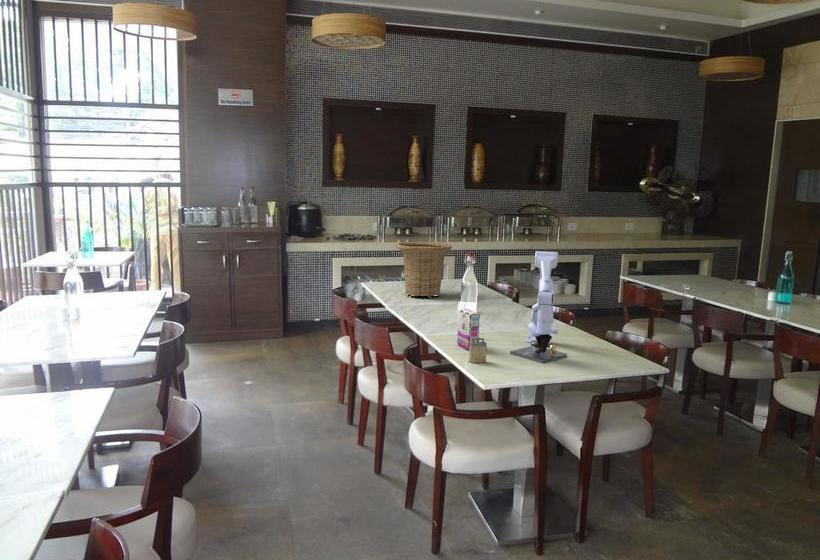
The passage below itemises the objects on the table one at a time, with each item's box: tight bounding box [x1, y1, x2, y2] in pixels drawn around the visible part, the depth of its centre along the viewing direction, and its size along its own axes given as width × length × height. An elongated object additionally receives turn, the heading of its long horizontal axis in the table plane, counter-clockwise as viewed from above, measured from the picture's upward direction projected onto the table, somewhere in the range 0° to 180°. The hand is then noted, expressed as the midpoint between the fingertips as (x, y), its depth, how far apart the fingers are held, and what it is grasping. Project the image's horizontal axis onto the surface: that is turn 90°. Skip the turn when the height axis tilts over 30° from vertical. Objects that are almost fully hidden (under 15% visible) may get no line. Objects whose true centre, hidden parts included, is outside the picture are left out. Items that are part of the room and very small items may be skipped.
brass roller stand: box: [530, 340, 557, 354], centre depth 264 cm, size 12×6×4 cm, turn 47°
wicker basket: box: [396, 241, 453, 297], centre depth 394 cm, size 35×35×33 cm
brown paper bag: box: [468, 337, 488, 364], centre depth 251 cm, size 7×4×10 cm, turn 98°
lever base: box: [509, 345, 568, 364], centre depth 264 cm, size 17×17×4 cm
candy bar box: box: [456, 308, 481, 352], centre depth 272 cm, size 11×5×16 cm, turn 23°
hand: (542, 351), depth 258 cm, fingers closed
